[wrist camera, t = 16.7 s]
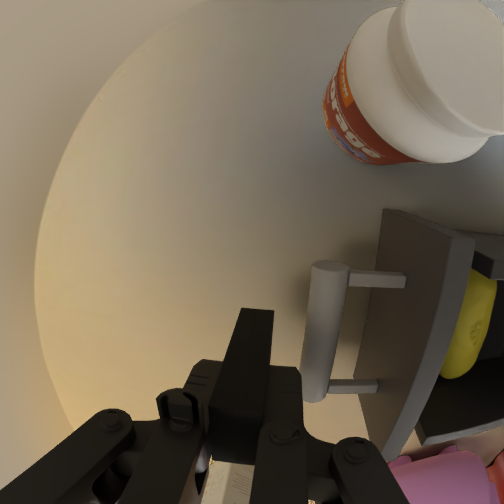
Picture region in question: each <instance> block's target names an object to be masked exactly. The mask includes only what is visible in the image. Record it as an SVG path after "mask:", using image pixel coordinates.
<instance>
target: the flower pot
mask: <svg viewBox="0 0 504 504" xmlns="http://www.w3.org/2000/svg"><path fill="white" fill-rule="evenodd" d="M486 470H487V474H488V478H489V482H492V483H495V485H496V489H497V493H498V497H499V501H500V504H504V451H503V452H502V453H501V454H500V455H499V456H497V457H496V459H495V462H494V464H493V465H492V466H489V467H487V469H486Z"/></svg>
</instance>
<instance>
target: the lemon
mask: <svg viewBox="0 0 504 504" xmlns="http://www.w3.org/2000/svg"><path fill="white" fill-rule="evenodd" d="M496 290H497V280H490V279H488V278H487V277H485V276H483V275H482V274H480V273H479V272H477V271H475V270H474V269H472V268H471V270H470V275H469V279H468V284H467V288H466V292H465V296H464V300H463V303H462V307H461V311H460V314H459V318H458V321H457V324H456V327H455V331H454V334H453V337H452V340H451V343H450V346H449V348H448V351H447V354H446V357H445V359H444V362H443V365H442V367H441V370H440V372H439V375H441V376H442V377H443V378H445V379H454V378H457V377H460V376H462V375H463V374H465V373H466V372H467V371H469V370H470V368H471V367H472V366H473V365H474V363H475V361H476V359H477V357H478V354H479V351H480V349H481V347H482V344H483V342H484V339H485V337H486V334H487V331H488V327H489V323H490V318H491V313H492V309H493V305H494V300H495V296H496Z"/></svg>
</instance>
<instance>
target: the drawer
mask: <svg viewBox="0 0 504 504" xmlns="http://www.w3.org/2000/svg"><path fill="white" fill-rule="evenodd" d="M471 268H472V269H474V270H475V271H477V272H479V273H480V274H482V275H483V276H485V277H487V278H488V279H490V280H497V290H496V296H495V300H494V305H493V309H492V313H491V318H490V323H489V327H488V331H487V334H486V337H485V339H484V342H483V344H482V347H481V349H480V351H479V354H478V357H477V359H476V361H475V363H474V365H473V366H472V367H471V368H470V370H469V371H467V372H466V373H465V374H463V375H462V376H460V377H457V378H454V379H445V378H443V377H442V376H441V375H439V372H440V370H441V367H442V365H443V362H444V359H445V357H446V354H447V351H448V348H449V346H450V343H451V340H452V337H453V334H454V331H455V327H456V324H457V321H458V318H459V314H460V311H461V307H462V303H463V300H464V296H465V292H466V288H467V284H468V279H469V275H470V270H471ZM347 284H348V286H358V287H372V293H371V299H370V304H369V309H368V314H367V319H366V324H365V329H364V333H363V338H362V342H361V347H360V351H359V355H358V359H357V363H356V367H355V371H354V375H353V378H354V379H330V376H331V372H332V367H333V362H334V358H335V353H336V348H337V343H338V337H339V332H340V326H341V321H342V315H343V309H344V303H345V296H346V290H347ZM299 372H300V374H301V375H302V395H303V401H305V402H309V403H315V402H319V401H322V400H323V399H324V398H325V397H326V394H327V393H328V394H358V396H359V400H360V403H361V407H362V411H363V415H364V419H365V423H366V427H367V431H368V435H369V439H370V441H371V442H372V443H373V444H374V445H375V446H376V447H377V448H378V450H379V451H380V453H381V455H382V457H383V458H384V460H385V462H387V461H394V460H396V459H397V457H398V455H399V454H400V452H401V450H402V448H403V447H404V445H405V443H406V441H407V440H408V438H409V436H410V434H411V432H412V430H413V429H415V431H416V434H417V436H418V439H419V441H420V444H421V446H426V445H431V444H436V443H441V442H446V441H450V440H454V439H458V438H462V437H466V436H470V435H473V434H477V433H480V432H484V431H487V430H490V429H493V428H496V427H499V426H502V425H504V236H501V235H493V234H486V233H479V232H471V231H463V230H455V229H448V228H446V227H443V226H441V225H438V224H436V223H433V222H430V221H428V220H425V219H422V218H420V217H417V216H414V215H411V214H409V213H406V212H403V211H400V210H390V209H383V212H382V222H381V231H380V240H379V248H378V255H377V262H376V269H375V271H370V270H352V269H349V266H347V265H346V264H344V263H341V262H337V261H329V260H322V261H316V262H314V263H313V264H312V272H311V282H310V291H309V300H308V309H307V318H306V326H305V333H304V341H303V348H302V355H301V362H300V369H299Z"/></svg>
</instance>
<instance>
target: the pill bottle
mask: <svg viewBox="0 0 504 504" xmlns="http://www.w3.org/2000/svg"><path fill="white" fill-rule="evenodd" d="M322 112H323V118H324V122H325V125H326V128H327V130H328V132H329V134H330V136H331V137H332V139H333V140H334V141H335V143H336V144H337V145H338V146H339V147H340V148H341V149H342V150H343V151H344V152H346V153H347V154H348V155H350V156H351V157H353V158H355V159H357V160H359V161H362V162H365V163H368V164H374V165H394V164H422V163H449V162H456V161H460V160H463V159H465V158H467V157H469V156H471V155H473V154H474V153H476V152H477V151H478V150H479V149H480V148H481V147H482V146H483V145H484V144H485V143H486V141H487V140H488V138H489V137H492V136H498V135H504V24H503V23H502V22H501V20H500V19H499V18H498V17H497V16H496V15H495V14H494V13H493V12H492V11H491V10H490V9H489V8H488V7H486V6H485V5H484V4H483V3H481V2H480V1H479V0H403V2H402V3H401V4H400V5H399V6H398V7H390V8H386V9H383V10H381V11H378V12H376V13H375V14H373V15H371V16H370V17H369V18H367V19H366V20H365V21H364V22H363V23H362V24H361V26H360V27H359V28H358V30H357V31H356V33H355V34H354V36H353V38H352V39H351V41H350V43H349V45H348V47H347V49H346V51H345V53H344V55H343V57H342V59H341V61H340V63H339V65H338V67H337V69H336V71H335V72H334V74H333V76H332V78H331V80H330V82H329V83H328V85H327V88H326V90H325V93H324V97H323V103H322Z"/></svg>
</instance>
